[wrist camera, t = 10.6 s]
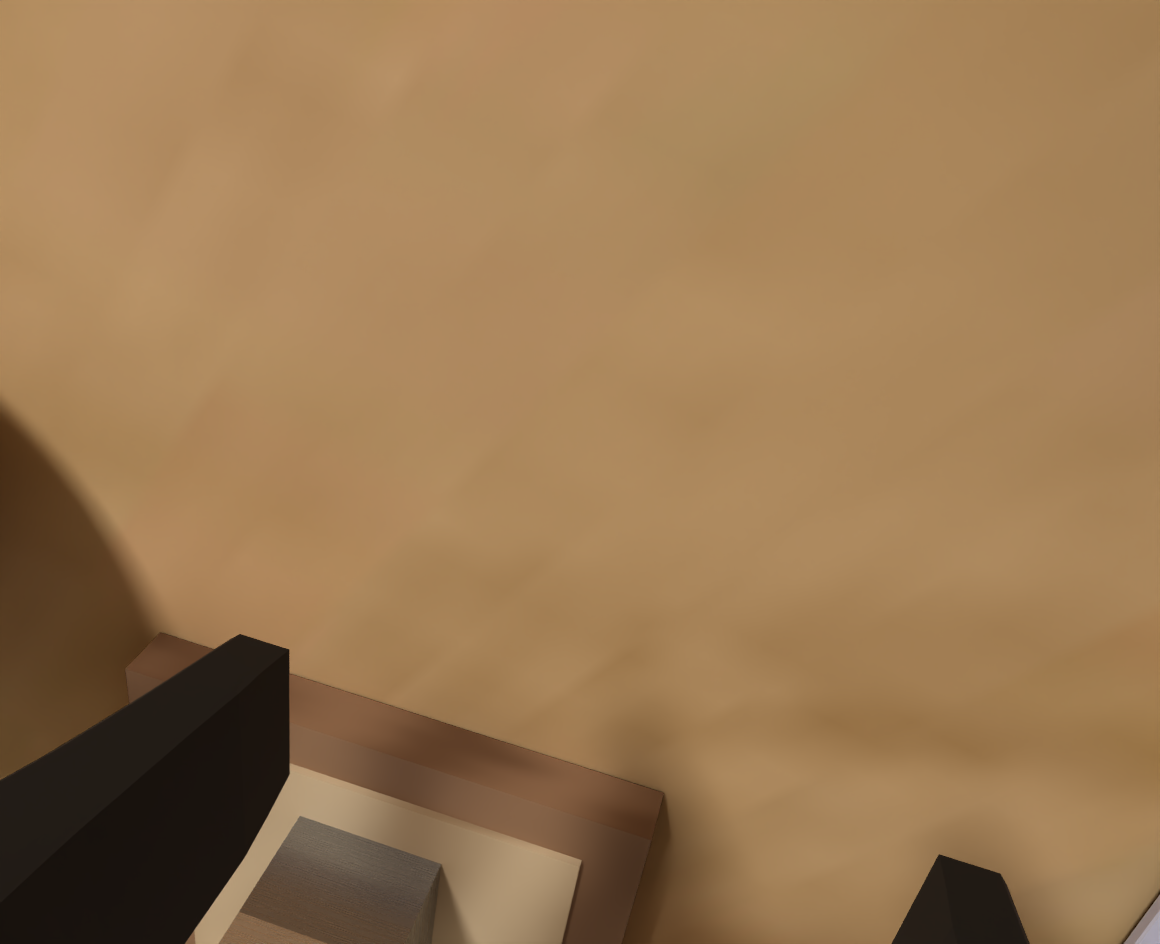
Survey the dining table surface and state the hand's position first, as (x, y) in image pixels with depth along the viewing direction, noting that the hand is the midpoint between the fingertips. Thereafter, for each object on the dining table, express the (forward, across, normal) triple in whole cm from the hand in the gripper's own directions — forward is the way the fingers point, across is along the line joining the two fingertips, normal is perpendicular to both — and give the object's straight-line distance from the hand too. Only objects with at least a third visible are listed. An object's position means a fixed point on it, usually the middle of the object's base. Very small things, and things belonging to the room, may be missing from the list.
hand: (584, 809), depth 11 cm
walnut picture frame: (+10, +6, +18) cm, 22 cm away
